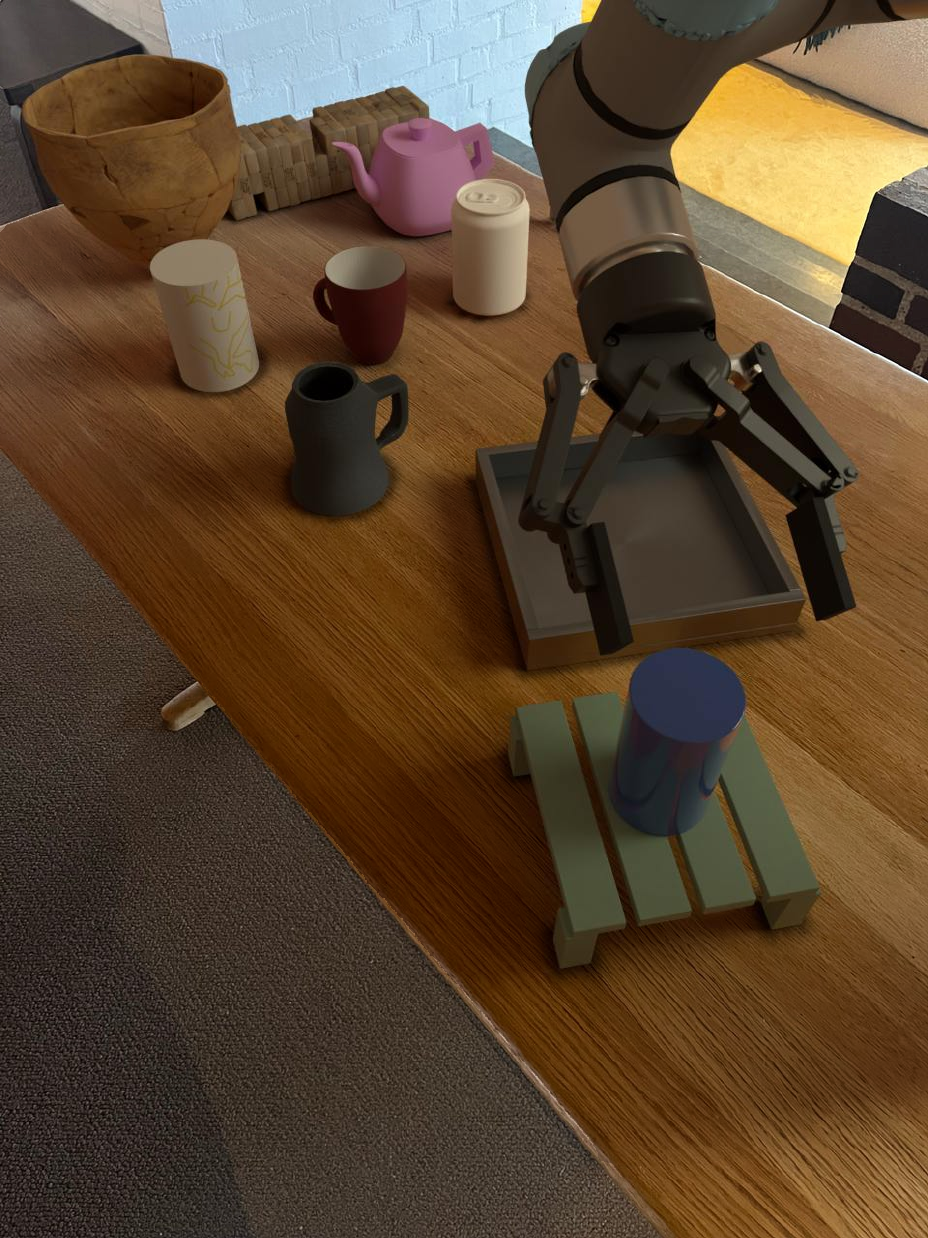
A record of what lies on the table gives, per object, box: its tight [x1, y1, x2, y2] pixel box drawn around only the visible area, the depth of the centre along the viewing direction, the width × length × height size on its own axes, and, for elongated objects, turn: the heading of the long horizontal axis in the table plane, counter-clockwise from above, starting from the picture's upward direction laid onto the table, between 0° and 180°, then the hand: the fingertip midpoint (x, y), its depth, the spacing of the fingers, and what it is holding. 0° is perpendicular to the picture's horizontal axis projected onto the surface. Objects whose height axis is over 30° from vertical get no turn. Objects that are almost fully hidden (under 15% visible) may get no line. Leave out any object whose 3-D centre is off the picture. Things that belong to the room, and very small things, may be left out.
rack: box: [507, 691, 822, 970], centre depth 64 cm, size 16×16×6 cm
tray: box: [475, 430, 807, 672], centre depth 81 cm, size 22×22×4 cm
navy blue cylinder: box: [608, 647, 747, 837], centre depth 57 cm, size 6×6×11 cm
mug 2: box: [284, 361, 410, 517], centre depth 85 cm, size 12×9×11 cm
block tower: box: [225, 85, 431, 221], centre depth 122 cm, size 8×8×29 cm
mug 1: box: [312, 245, 409, 366], centre depth 98 cm, size 10×8×10 cm
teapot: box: [332, 118, 496, 237], centre depth 115 cm, size 13×20×11 cm
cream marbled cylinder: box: [149, 239, 260, 393], centre depth 95 cm, size 8×8×12 cm
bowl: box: [21, 54, 241, 271], centre depth 104 cm, size 21×20×20 cm
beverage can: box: [451, 178, 531, 317], centre depth 103 cm, size 8×8×12 cm
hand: (730, 631), depth 52 cm, fingers open, 13 cm apart
